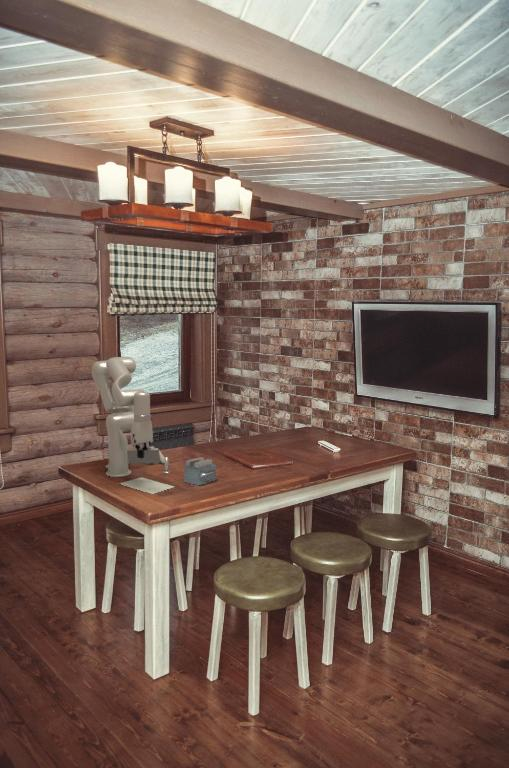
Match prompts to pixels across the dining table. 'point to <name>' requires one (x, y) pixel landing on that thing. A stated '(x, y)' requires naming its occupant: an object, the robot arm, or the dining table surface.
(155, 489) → the mat
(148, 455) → the crook
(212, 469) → the grey metal pieces
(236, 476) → the dining table surface
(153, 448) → the wall hook
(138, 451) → the robot arm
